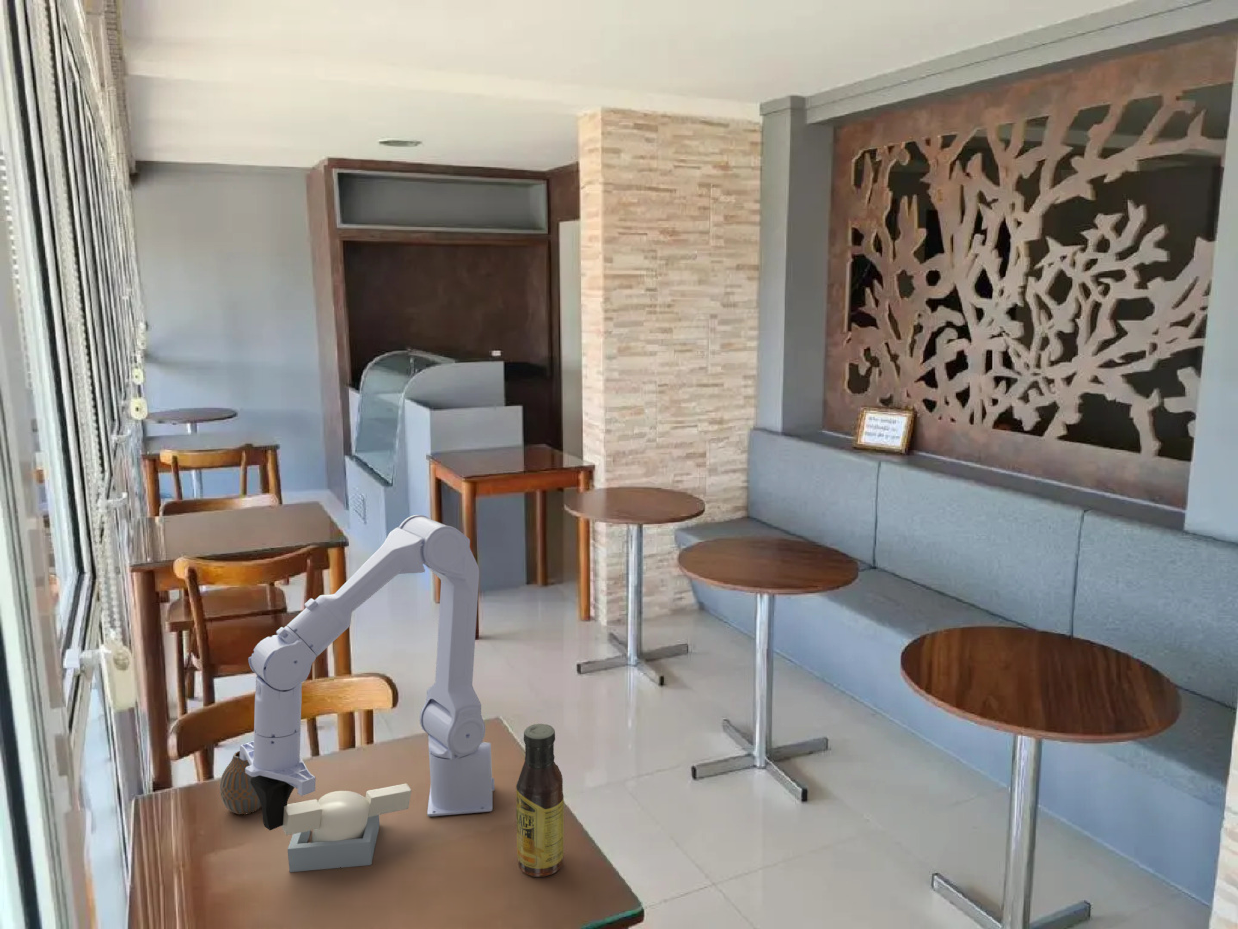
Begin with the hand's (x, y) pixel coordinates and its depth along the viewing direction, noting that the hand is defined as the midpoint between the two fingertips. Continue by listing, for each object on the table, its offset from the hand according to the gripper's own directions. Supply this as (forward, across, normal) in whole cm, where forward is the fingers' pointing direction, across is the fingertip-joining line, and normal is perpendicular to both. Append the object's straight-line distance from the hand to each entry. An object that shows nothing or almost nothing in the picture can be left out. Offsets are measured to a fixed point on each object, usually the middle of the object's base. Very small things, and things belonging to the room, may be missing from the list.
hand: (274, 826), depth 122 cm
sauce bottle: (+4, +28, +22) cm, 36 cm away
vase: (+7, -17, +6) cm, 20 cm away
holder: (+6, +2, +9) cm, 10 cm away
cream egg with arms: (+5, +2, +8) cm, 10 cm away
